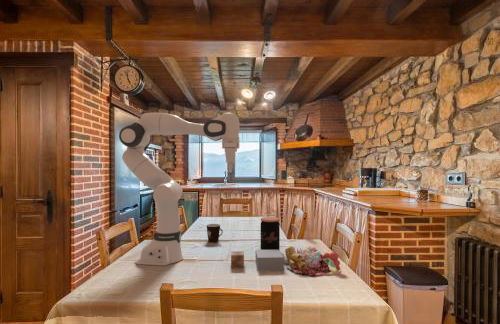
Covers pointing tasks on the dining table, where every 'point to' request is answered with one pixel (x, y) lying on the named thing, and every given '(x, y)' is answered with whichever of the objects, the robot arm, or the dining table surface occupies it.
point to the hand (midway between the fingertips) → (230, 172)
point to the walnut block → (237, 259)
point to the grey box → (269, 260)
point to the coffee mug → (213, 232)
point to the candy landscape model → (312, 261)
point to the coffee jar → (270, 233)
